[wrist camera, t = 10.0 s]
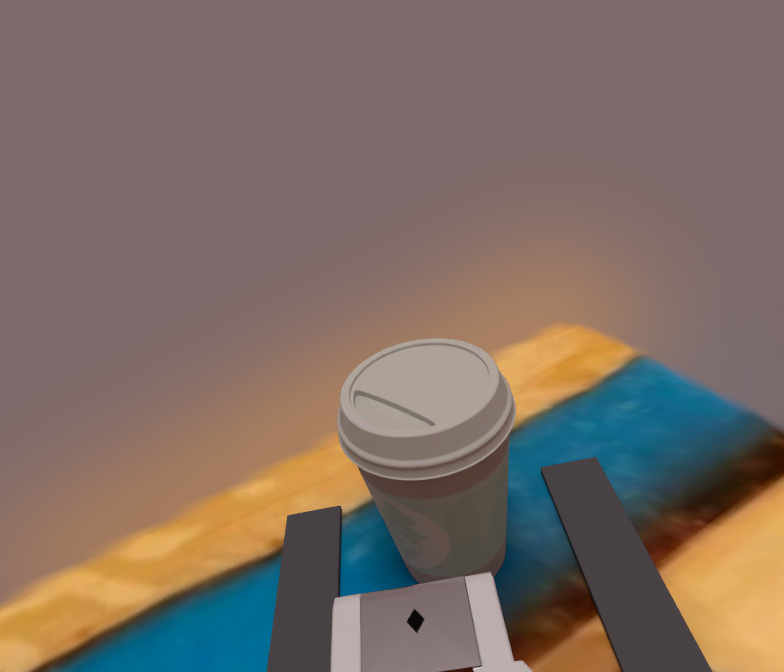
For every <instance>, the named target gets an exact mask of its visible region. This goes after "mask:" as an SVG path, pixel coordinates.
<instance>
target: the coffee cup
mask: <svg viewBox="0 0 784 672" xmlns="http://www.w3.org/2000/svg"><path fill="white" fill-rule="evenodd" d="M515 415H516V405H515V400H514V397H513V395H512V393H511V389H510V386H509V384H508V382H507V380H506V379H505V377H504V376H503V375H502V374H501V373H500V371H499V369H498V367H497V365H496V363H495V361H494V360H493V359H492V357H491V356H490V355H489V354H487V353H486V352H485V351H483V350H482V349H480V348H478V347H476V346H474V345H472V344H469V343H466V342H462V341H458V340H452V339H440V338H439V339H438V338H434V339H421V340H414V341H409V342H405V343H402V344H398V345H395V346H392V347H389V348H387V349H384V350H382V351H380V352H378V353H376V354H374V355H373V356H371V357H370V358H368V359H366V360H365V361H364V362H362V363H361V364H360V365H359V366H357V367H356V368H355V369H354V370H353V371H352V373H351V374H350V375H349V376H348V378H347V379H346V381H345V383H344V385H343V387H342V390H341V394H340V408H339V411H338V416H337V426H338V437H339V442H340V445H341V447H342V449H343V451H344V453H345V454H346V456H347V457H348V458H349V459H350V460H351V461H352V462H353V463H354V464H356V465H357V466H358V468H359V470H360V473H361V475H362V477H363V479H364V481H365V483H366V485H367V487H368V489H369V491H370V493H371V495H372V497H373V499H374V501H375V503H376V505H377V507H378V509H379V511H380V514H381V516H382V518H383V520H384V522H385V524H386V526H387V528H388V530H389V532H390V534H391V536H392V538H393V540H394V542H395V544H396V546H397V548H398V550H399V552H400V554H401V556H402V558H403V560H404V562H405V564H406V566H407V568H408V570H409V572H410V574H411V575H412V577H413V578H414V579H415V580H416V581H417V582H418V583H419V584H422V583H427V582H433V581H438V580H444V579H449V578H454V577H460V576H464V577H465V576H470V575H475V574H481V573H486V572H491V574H492V576H493V577H494V576H495V575H496V574H497V573H498V571H499V570H500V568H501V566H502V564H503V561H504V558H505V552H506V529H507V492H508V455H509V433H510V431H511V429H512V426H513V424H514V420H515ZM464 581H465V580H464Z"/></svg>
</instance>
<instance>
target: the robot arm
mask: <svg viewBox="0 0 784 672" xmlns="http://www.w3.org/2000/svg"><path fill="white" fill-rule="evenodd" d="M464 580H465V581H464ZM331 672H533V671H532V670H531V669H530V668H529V667H528V666H527V665H526V664H525V663H524V662H523V661H514V660H513V656H512V652H511V647H510V643H509V639H508V635H507V631H506V627H505V623H504V619H503V615H502V611H501V607H500V603H499V599H498V595H497V591H496V587H495V583H494V579H493V576H492V574H491V572H486V573H481V574H475V575H470V576H465V577H464V576H460V577H454V578H449V579H444V580H438V581H433V582H427V583H422V584H417V585H413V586H409V587H402V588H396V589H390V590H383V591H377V592H371V593H364V594H356V595H350V596H344V597H338V598H335V600H334V605H333V613H332V643H331Z"/></svg>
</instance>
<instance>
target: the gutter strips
mask: <svg viewBox="0 0 784 672" xmlns="http://www.w3.org/2000/svg"><path fill="white" fill-rule="evenodd" d="M541 473H542V476H543V478H544V480H545V483H546V485H547V488H548V490H549V493H550V495H551V498H552V500H553V503H554V505H555V508H556V510H557V513H558V515H559V517H560V520H561V522H562V525H563V527H564V530H565V532H566V535H567V537H568V540H569V542H570V545H571V547H572V550H573V552H574V555H575V557H576V559H577V562H578V564H579V567H580V569H581V572H582V574H583V577H584V579H585V582H586V584H587V587H588V589H589V592H590V594H591V596H592V599H593V601H594V604H595V606H596V609H597V611H598V614H599V616H600V619H601V621H602V624H603V626H604V629H605V631H606V633H607V636H608V638H609V641H610V643H611V646H612V648H613V651H614V653H615V656H616V658H617V661H618V663H619V666H620V668H621V670H622V672H712V670H711V668H710V667H709V665H708V663H707V661H706V659H705V657H704V656H703V654H702V652H701V650H700V648H699V646H698V644H697V643H696V641H695V639H694V637H693V635H692V633H691V632H690V630H689V628H688V626H687V624H686V622H685V620H684V619H683V617H682V615H681V613H680V611H679V609H678V608H677V606H676V604H675V602H674V600H673V598H672V596H671V595H670V593H669V591H668V589H667V587H666V585H665V584H664V582H663V580H662V578H661V576H660V574H659V572H658V571H657V569H656V567H655V565H654V563H653V561H652V560H651V558H650V556H649V554H648V552H647V550H646V548H645V547H644V545H643V543H642V541H641V539H640V537H639V536H638V534H637V532H636V530H635V528H634V526H633V524H632V523H631V521H630V519H629V517H628V515H627V513H626V512H625V510H624V508H623V506H622V504H621V502H620V500H619V499H618V497H617V495H616V493H615V491H614V489H613V488H612V486H611V484H610V482H609V480H608V478H607V477H606V475H605V473H604V471H603V469H602V467H601V465H600V464H599V462H598V460H597V458H596V457H594V458H588V459H583V460H578V461H573V462H567V463H562V464H557V465H551V466H546V467H541ZM341 519H342V509H341V506H335V507H330V508H325V509H319V510H314V511H309V512H303V513H298V514H293V515H288V516H287V523H286V531H285V538H284V546H283V553H282V561H281V568H280V576H279V584H278V591H277V599H276V606H275V614H274V621H273V629H272V637H271V644H270V652H269V659H268V667H267V672H331V643H332V613H333V605H334V600H335V598H338V597H340V559H341Z"/></svg>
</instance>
